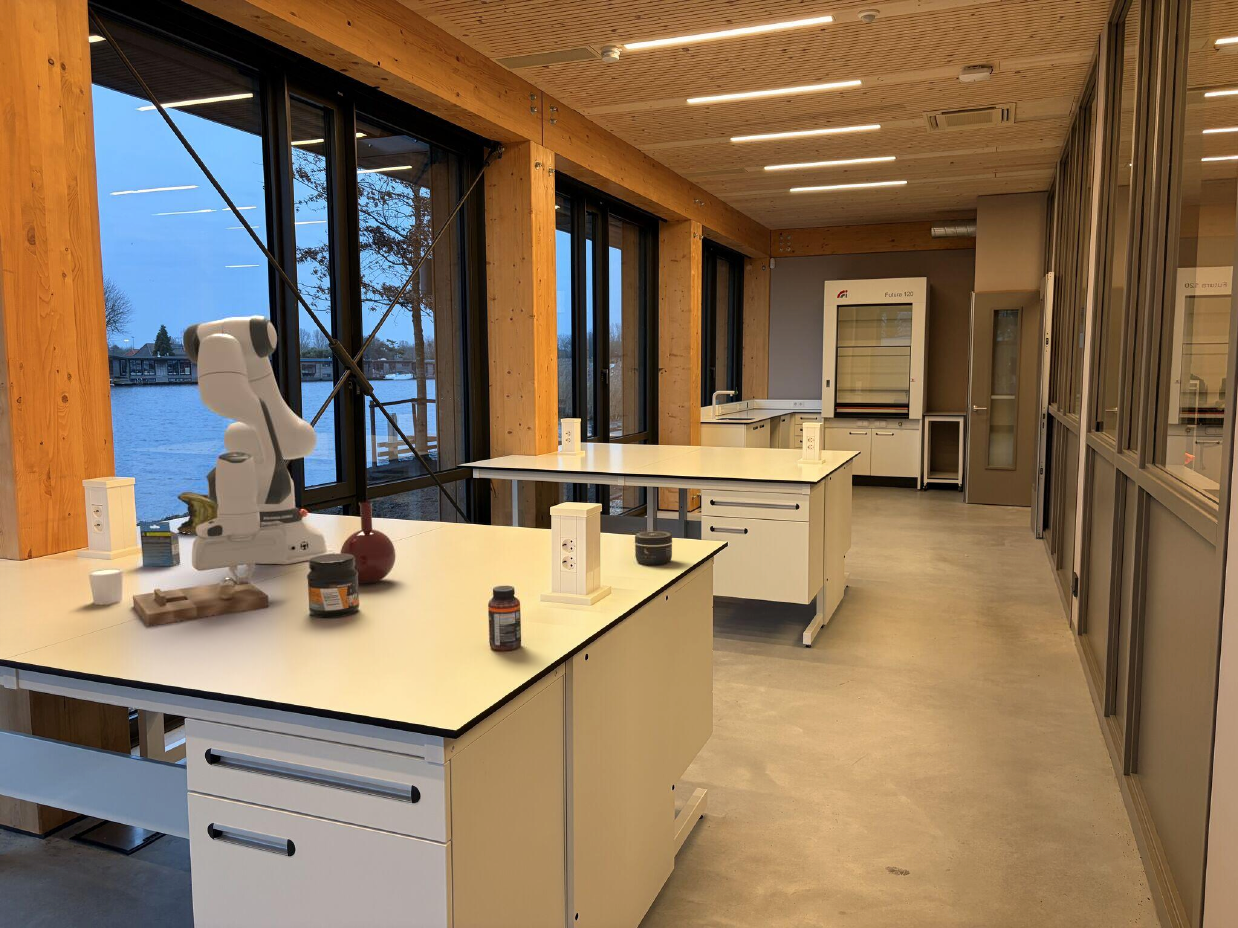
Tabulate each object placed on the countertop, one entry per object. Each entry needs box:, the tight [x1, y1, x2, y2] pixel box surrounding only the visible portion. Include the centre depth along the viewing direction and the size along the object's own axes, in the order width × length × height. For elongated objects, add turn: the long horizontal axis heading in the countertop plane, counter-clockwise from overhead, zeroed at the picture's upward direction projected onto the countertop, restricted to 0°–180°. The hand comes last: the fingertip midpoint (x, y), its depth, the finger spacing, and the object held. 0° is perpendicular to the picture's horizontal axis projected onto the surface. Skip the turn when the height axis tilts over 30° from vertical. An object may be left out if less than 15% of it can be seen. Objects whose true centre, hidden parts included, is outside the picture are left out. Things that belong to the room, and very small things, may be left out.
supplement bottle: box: [487, 585, 522, 652], centre depth 167 cm, size 6×6×11 cm
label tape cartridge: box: [139, 521, 181, 567], centre depth 244 cm, size 9×4×12 cm, turn 84°
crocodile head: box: [177, 491, 218, 534], centre depth 294 cm, size 27×17×15 cm
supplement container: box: [306, 553, 360, 619], centre depth 193 cm, size 10×10×12 cm
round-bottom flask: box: [339, 500, 397, 584], centre depth 220 cm, size 13×13×20 cm
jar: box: [634, 530, 673, 567], centre depth 238 cm, size 10×10×8 cm
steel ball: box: [219, 576, 236, 588], centre depth 203 cm, size 3×3×3 cm
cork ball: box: [219, 585, 235, 600], centre depth 196 cm, size 3×3×3 cm
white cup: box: [88, 568, 124, 606], centre depth 206 cm, size 7×7×7 cm
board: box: [132, 582, 270, 627], centre depth 200 cm, size 24×20×4 cm
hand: (242, 584), depth 205 cm, fingers closed
